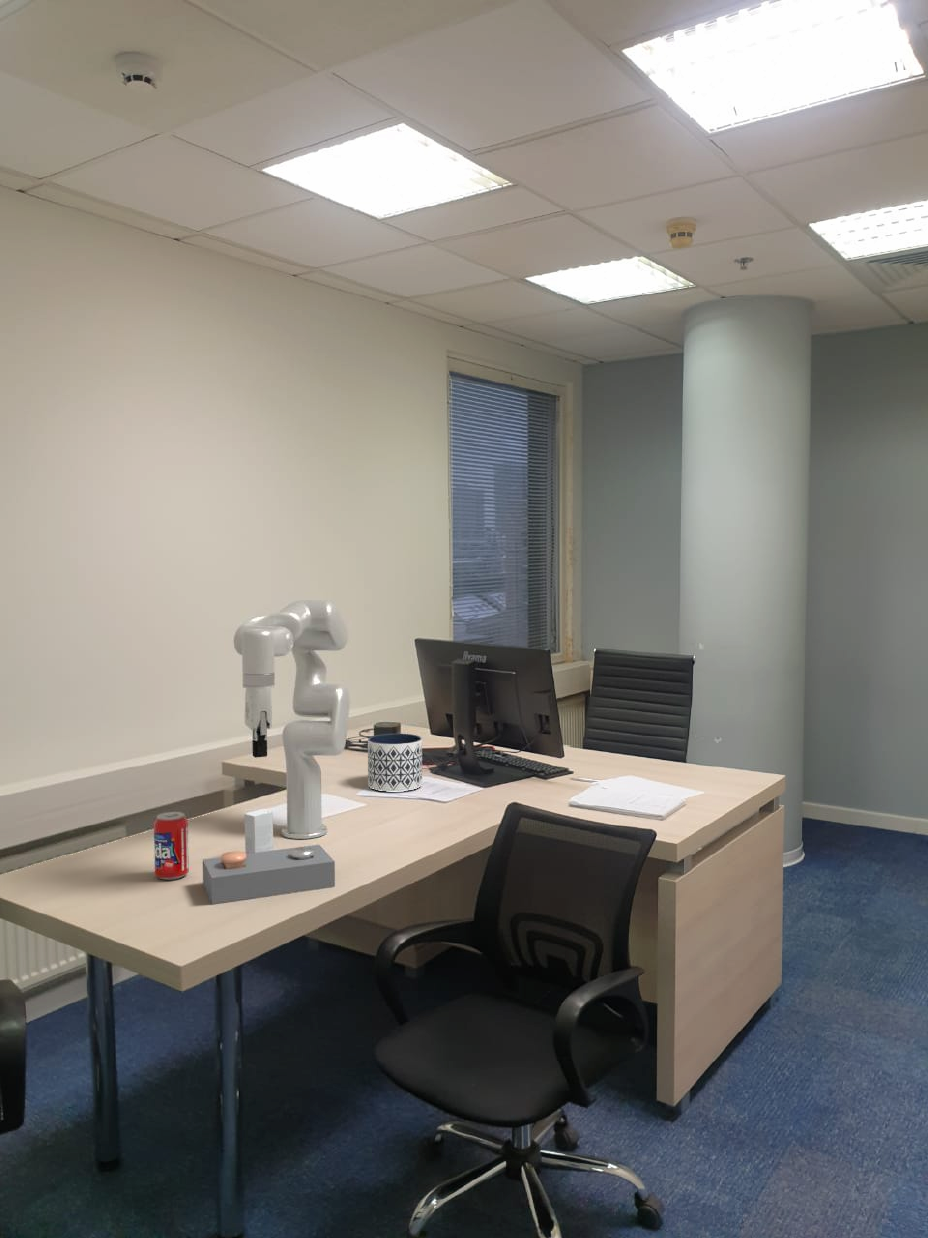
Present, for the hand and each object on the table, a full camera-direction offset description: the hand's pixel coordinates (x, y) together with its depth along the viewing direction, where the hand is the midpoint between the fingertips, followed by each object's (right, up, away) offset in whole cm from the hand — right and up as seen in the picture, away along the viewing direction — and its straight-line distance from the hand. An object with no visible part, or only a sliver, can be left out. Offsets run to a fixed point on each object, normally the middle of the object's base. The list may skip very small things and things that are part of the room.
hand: (259, 756), depth 224 cm
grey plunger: (+11, -28, -2) cm, 30 cm away
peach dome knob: (-4, -28, -9) cm, 29 cm away
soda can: (-22, -29, +1) cm, 36 cm away
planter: (+26, -24, +90) cm, 96 cm away
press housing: (+3, -30, -5) cm, 30 cm away
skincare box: (-3, -29, +15) cm, 32 cm away
